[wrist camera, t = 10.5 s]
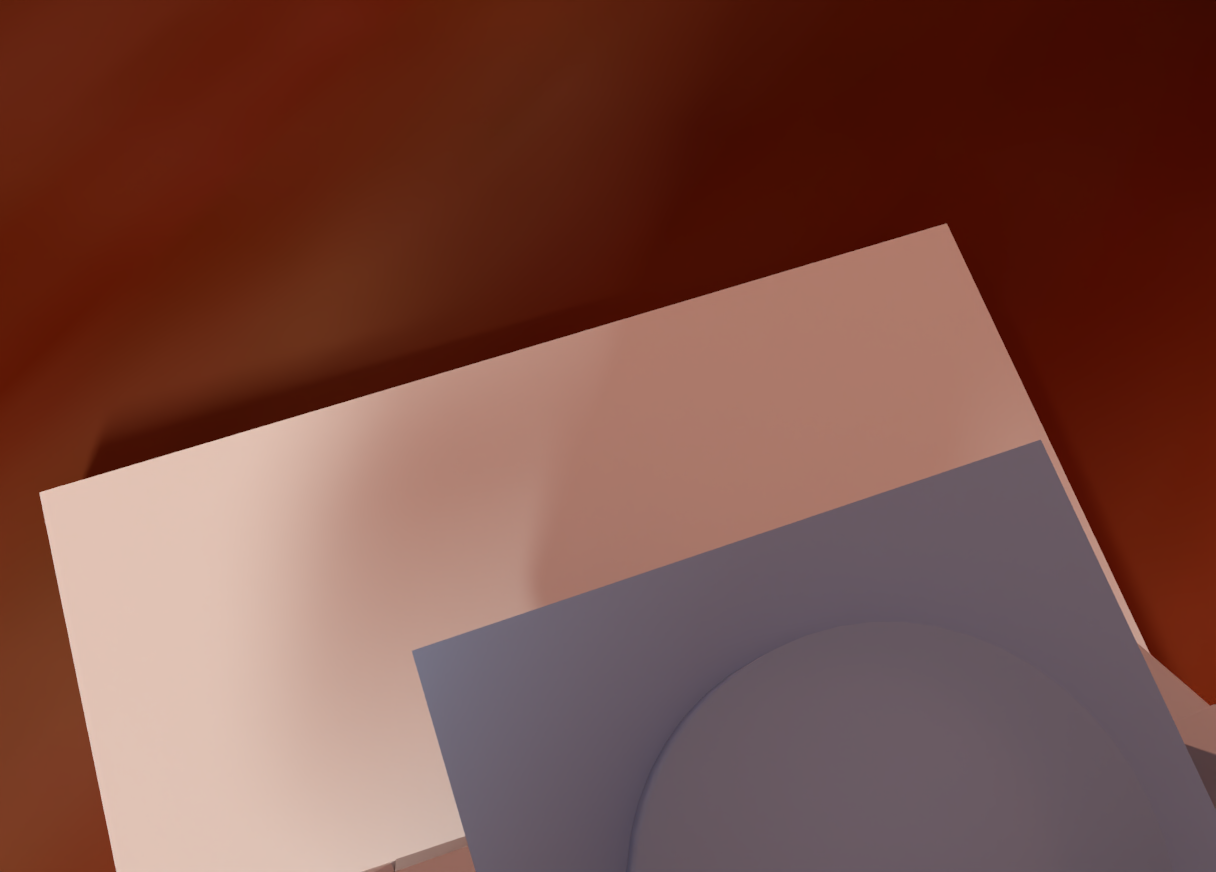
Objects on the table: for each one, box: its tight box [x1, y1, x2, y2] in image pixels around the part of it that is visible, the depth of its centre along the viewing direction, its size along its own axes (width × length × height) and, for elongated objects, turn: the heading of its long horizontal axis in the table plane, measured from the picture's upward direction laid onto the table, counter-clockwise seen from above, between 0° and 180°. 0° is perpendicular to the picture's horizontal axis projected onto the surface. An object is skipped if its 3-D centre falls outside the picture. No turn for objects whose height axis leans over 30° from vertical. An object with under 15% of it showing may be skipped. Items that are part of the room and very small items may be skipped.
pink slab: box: [40, 223, 1150, 872], centre depth 14 cm, size 16×16×7 cm
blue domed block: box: [412, 440, 1216, 872], centre depth 11 cm, size 5×5×9 cm
